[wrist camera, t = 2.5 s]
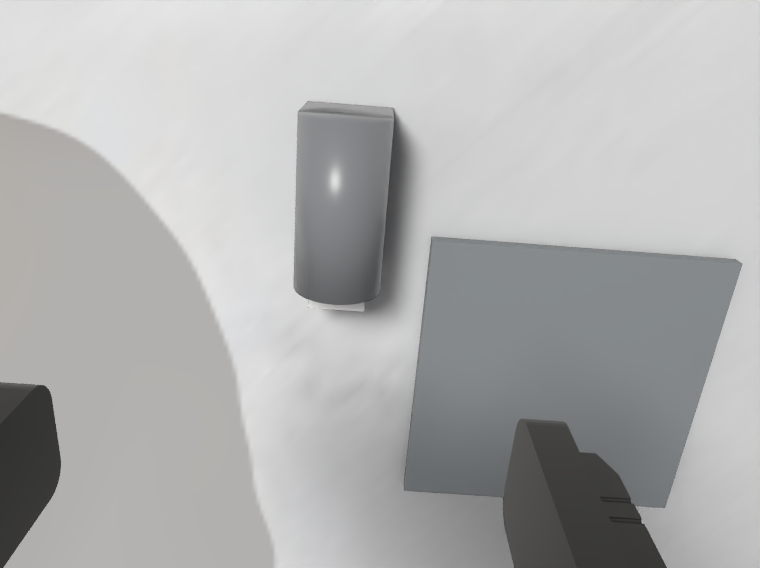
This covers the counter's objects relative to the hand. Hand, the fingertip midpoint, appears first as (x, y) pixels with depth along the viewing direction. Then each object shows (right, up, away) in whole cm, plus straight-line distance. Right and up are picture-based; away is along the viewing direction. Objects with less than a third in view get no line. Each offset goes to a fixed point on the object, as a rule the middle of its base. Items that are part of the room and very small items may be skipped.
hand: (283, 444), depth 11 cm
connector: (0, +7, +17) cm, 19 cm away
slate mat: (+10, -2, +21) cm, 23 cm away
